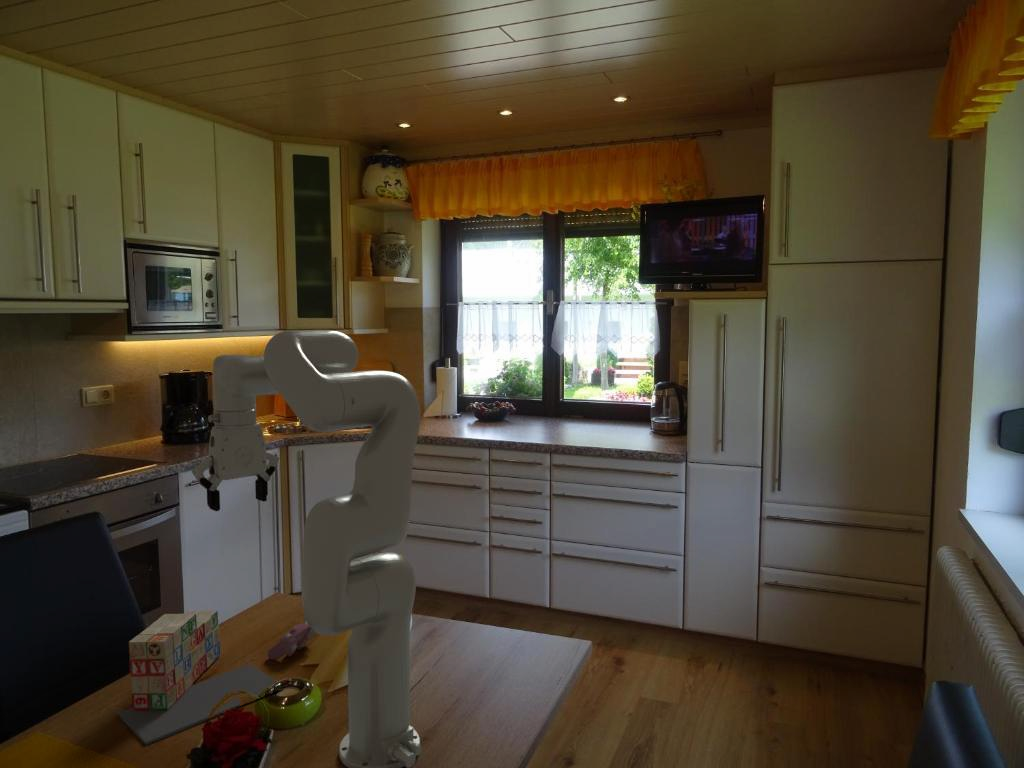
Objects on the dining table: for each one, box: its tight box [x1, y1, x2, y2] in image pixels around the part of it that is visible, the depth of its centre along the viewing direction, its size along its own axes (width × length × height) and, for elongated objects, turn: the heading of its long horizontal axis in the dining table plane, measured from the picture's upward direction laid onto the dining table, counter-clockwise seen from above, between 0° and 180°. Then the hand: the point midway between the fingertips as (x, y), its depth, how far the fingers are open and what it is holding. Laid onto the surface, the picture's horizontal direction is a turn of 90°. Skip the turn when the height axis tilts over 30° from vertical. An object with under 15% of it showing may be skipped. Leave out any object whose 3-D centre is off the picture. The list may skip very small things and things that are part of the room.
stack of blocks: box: [128, 610, 221, 710], centre depth 135 cm, size 21×6×12 cm, turn 178°
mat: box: [117, 663, 278, 746], centre depth 129 cm, size 12×24×1 cm, turn 137°
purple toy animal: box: [267, 620, 315, 661], centre depth 147 cm, size 10×5×7 cm, turn 160°
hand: (238, 504), depth 142 cm, fingers open, 9 cm apart
